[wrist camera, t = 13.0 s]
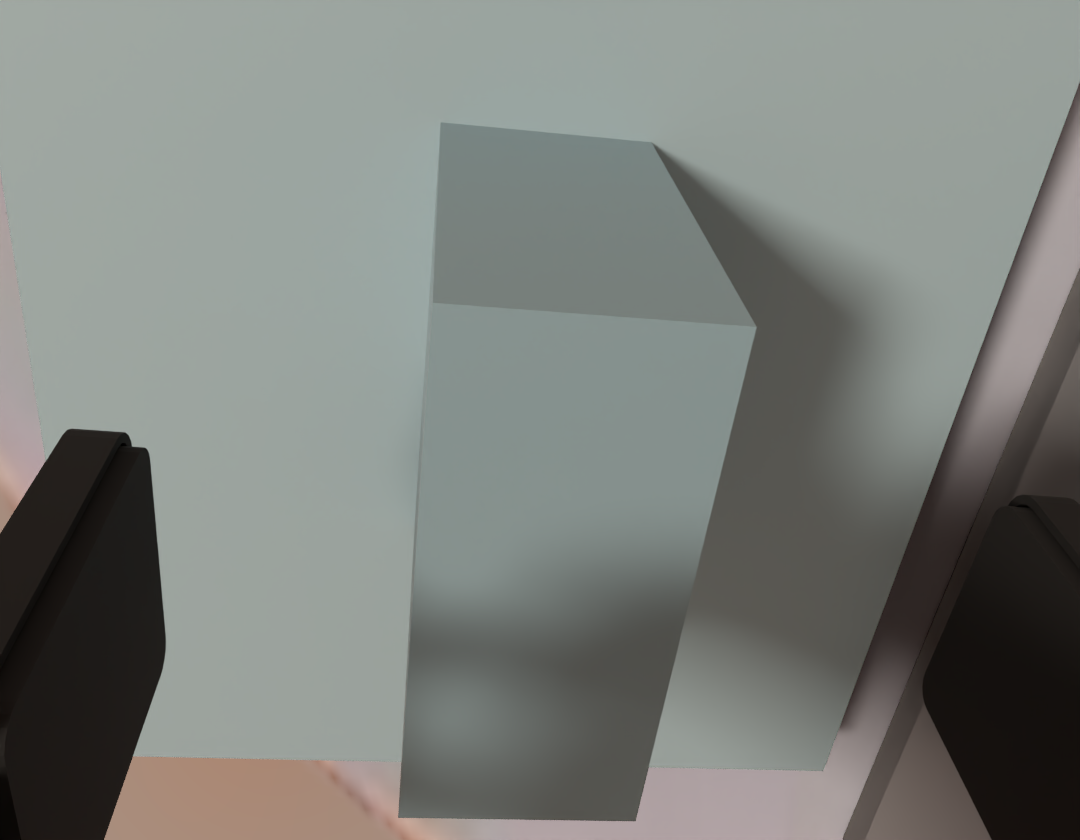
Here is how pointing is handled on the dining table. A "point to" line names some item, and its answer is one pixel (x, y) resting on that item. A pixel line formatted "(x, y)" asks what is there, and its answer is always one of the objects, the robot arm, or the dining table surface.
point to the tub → (912, 739)
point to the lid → (521, 354)
